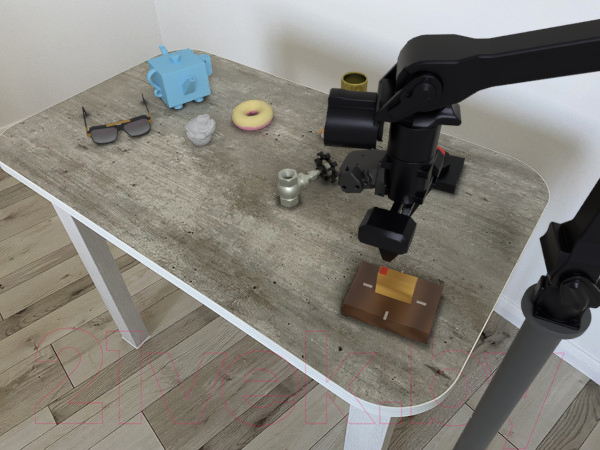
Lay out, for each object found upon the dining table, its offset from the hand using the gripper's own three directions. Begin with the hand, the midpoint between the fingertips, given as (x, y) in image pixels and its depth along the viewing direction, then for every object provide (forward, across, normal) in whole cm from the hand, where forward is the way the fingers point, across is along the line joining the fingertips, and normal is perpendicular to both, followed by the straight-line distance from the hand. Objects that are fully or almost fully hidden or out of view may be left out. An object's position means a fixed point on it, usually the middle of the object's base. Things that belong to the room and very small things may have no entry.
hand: (396, 237), depth 68 cm
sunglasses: (+12, -20, -71) cm, 75 cm away
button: (+9, -31, -1) cm, 32 cm away
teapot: (+12, -36, -64) cm, 75 cm away
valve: (+12, -16, -22) cm, 30 cm away
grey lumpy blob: (+12, -21, -49) cm, 55 cm away
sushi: (+12, -34, -24) cm, 43 cm away
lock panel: (+12, +3, +2) cm, 12 cm away
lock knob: (+9, +3, +2) cm, 10 cm away
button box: (+12, -31, -1) cm, 33 cm away
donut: (+12, -33, -43) cm, 56 cm away
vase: (+12, -36, -20) cm, 43 cm away
